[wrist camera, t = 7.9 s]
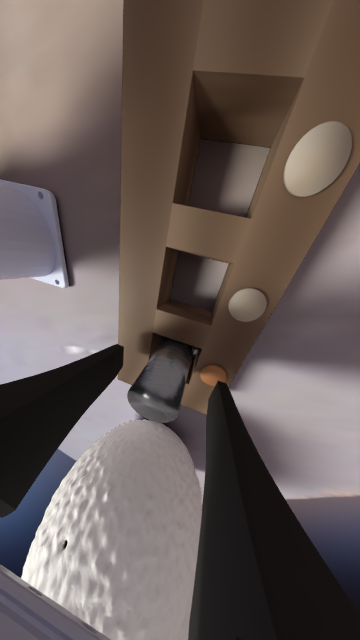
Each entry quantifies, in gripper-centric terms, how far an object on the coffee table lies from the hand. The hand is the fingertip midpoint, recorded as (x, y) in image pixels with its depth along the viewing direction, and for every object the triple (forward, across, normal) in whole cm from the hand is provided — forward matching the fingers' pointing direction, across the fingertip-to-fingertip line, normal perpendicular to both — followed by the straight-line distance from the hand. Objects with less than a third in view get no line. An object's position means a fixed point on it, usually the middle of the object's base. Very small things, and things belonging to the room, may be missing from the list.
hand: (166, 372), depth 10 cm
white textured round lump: (+5, -1, +18) cm, 19 cm away
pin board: (+4, 0, -6) cm, 7 cm away
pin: (+4, 0, 0) cm, 4 cm away
